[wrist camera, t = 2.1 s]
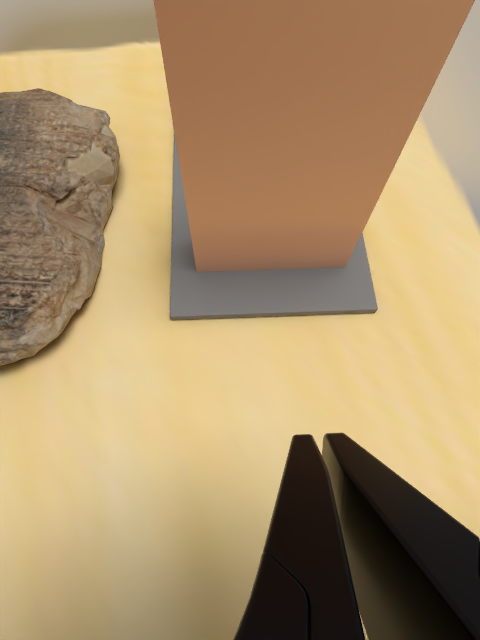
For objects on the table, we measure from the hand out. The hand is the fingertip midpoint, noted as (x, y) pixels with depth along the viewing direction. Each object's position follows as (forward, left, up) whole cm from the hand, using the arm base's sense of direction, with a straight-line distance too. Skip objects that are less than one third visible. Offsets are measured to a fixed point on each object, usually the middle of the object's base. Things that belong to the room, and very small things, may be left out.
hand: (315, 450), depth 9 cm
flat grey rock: (-14, +16, -13) cm, 25 cm away
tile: (+2, +13, -12) cm, 18 cm away
